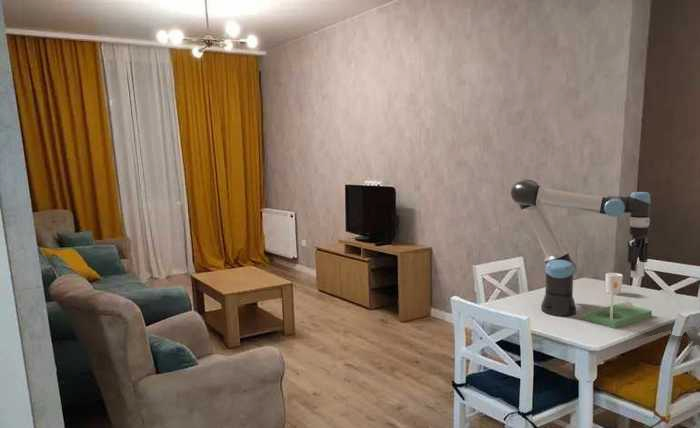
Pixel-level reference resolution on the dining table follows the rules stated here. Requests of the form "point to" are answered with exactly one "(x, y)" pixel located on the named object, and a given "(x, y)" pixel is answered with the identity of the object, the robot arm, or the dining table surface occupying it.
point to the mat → (617, 315)
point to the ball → (627, 305)
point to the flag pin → (613, 285)
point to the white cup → (613, 279)
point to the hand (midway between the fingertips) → (637, 276)
